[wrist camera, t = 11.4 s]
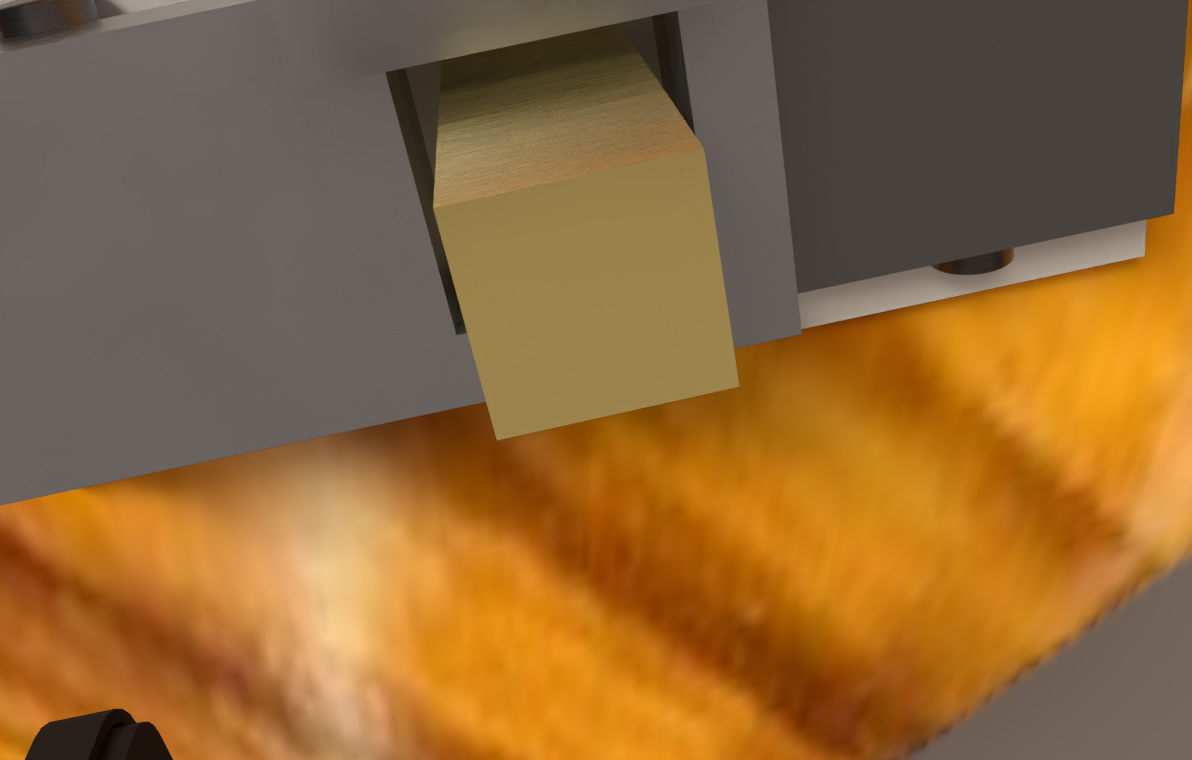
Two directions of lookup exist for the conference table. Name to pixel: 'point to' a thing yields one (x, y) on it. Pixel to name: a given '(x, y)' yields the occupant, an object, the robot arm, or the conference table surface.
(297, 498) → the conference table surface
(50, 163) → the gray toy truck
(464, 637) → the conference table surface
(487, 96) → the pin
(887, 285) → the board
